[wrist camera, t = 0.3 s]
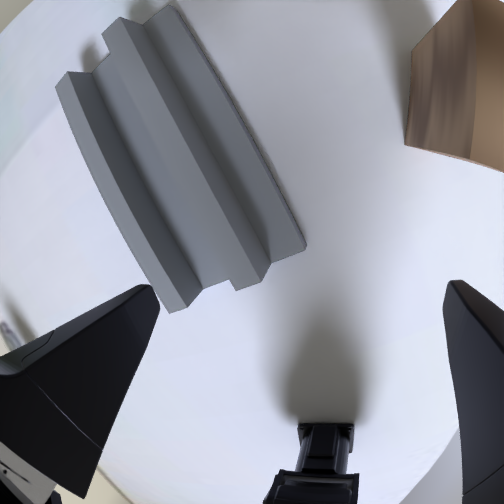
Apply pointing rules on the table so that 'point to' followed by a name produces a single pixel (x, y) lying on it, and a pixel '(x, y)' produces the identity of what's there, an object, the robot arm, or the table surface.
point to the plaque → (460, 85)
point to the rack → (176, 162)
